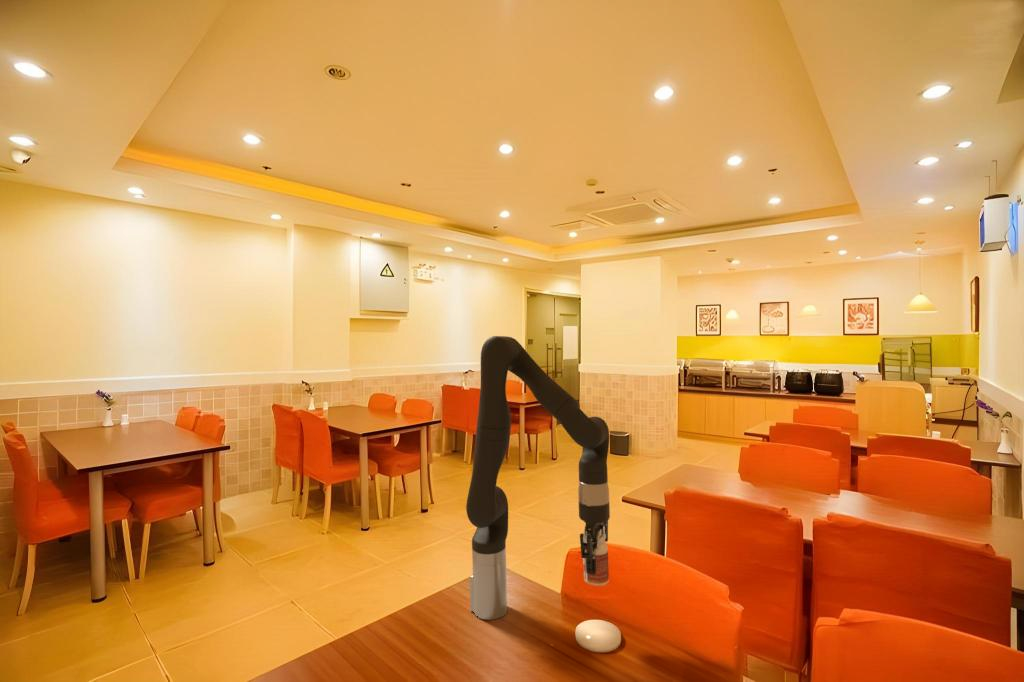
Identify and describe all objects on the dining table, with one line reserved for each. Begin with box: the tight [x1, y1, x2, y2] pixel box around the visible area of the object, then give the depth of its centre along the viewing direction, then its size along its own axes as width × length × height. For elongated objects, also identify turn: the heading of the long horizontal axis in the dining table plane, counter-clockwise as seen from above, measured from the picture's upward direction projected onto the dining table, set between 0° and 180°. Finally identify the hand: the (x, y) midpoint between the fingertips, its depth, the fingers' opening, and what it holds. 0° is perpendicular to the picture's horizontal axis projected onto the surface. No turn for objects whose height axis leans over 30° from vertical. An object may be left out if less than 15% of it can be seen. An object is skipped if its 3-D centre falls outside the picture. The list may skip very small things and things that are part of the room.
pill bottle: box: [582, 534, 610, 587], centre depth 114 cm, size 6×6×11 cm
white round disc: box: [574, 619, 622, 653], centre depth 114 cm, size 11×11×1 cm
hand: (595, 567), depth 114 cm, fingers closed on pill bottle, 6 cm apart
